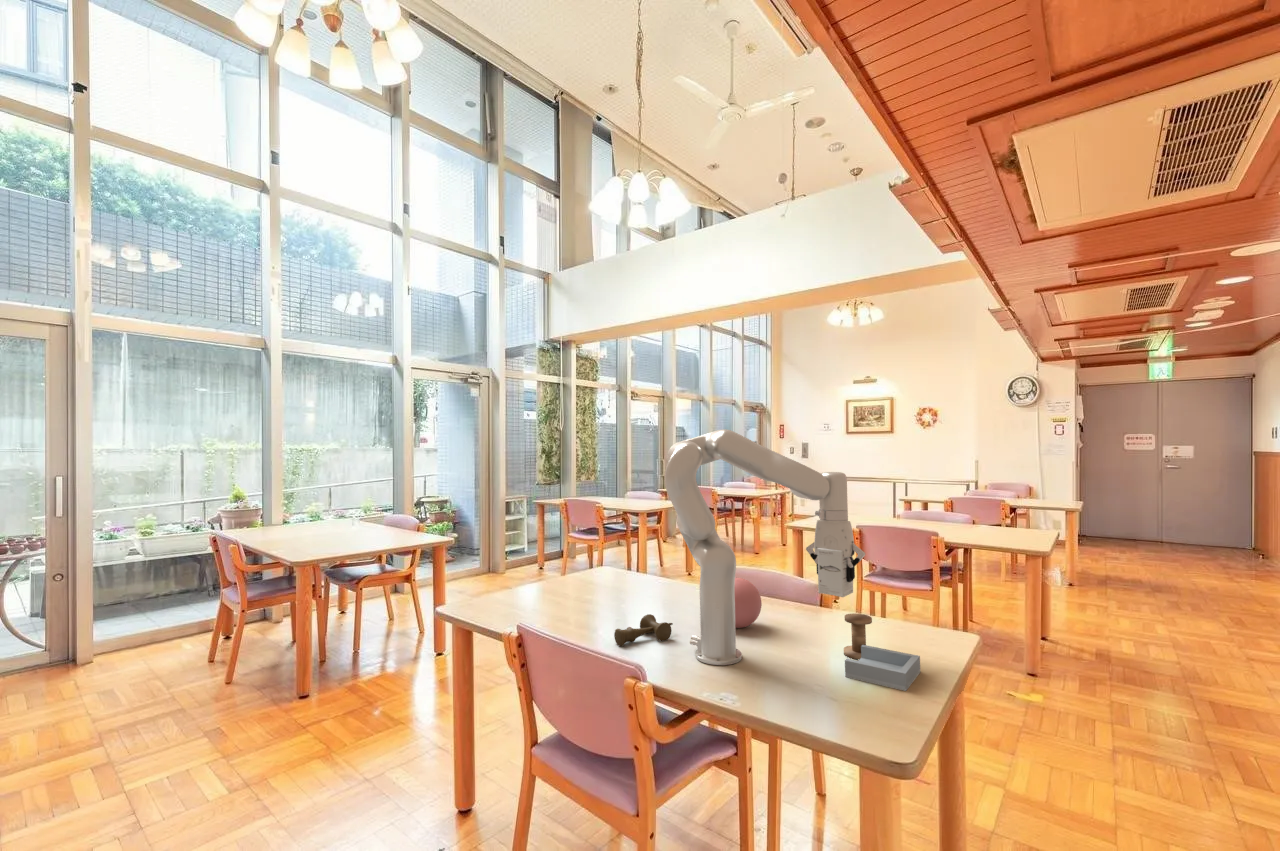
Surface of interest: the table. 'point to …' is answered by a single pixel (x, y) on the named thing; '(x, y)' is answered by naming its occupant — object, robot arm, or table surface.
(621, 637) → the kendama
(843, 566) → the supplement box
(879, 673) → the square tray
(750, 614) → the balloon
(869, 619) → the doorknob
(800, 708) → the table surface
